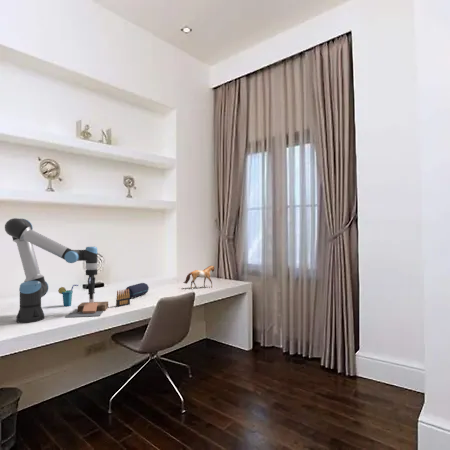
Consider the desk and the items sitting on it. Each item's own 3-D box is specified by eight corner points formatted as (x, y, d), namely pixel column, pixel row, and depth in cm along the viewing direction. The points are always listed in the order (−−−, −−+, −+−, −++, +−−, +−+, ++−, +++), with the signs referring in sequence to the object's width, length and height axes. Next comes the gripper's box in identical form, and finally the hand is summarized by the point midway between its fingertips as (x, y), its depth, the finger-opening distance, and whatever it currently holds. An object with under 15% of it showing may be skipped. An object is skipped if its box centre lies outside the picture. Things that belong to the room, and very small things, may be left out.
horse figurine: (214, 286, 331) (214, 265, 332) (217, 287, 324) (216, 266, 324) (183, 288, 321) (183, 266, 321) (185, 289, 314) (184, 267, 314)
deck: (77, 312, 231) (77, 306, 231) (82, 308, 242) (82, 302, 242) (105, 310, 233) (105, 305, 234) (108, 307, 245) (108, 301, 245)
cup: (76, 303, 259) (76, 283, 259) (80, 304, 253) (80, 284, 254) (56, 306, 249) (56, 285, 249) (60, 307, 244) (60, 287, 244)
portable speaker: (140, 293, 298) (140, 281, 298) (150, 293, 295) (149, 282, 295) (122, 298, 275) (122, 286, 275) (133, 299, 271) (132, 287, 271)
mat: (65, 317, 216) (65, 317, 216) (70, 313, 228) (70, 312, 228) (99, 316, 220) (99, 315, 220) (103, 311, 231) (103, 311, 231)
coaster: (82, 313, 225) (82, 311, 224) (85, 305, 232) (85, 302, 231) (95, 312, 227) (95, 310, 226) (97, 304, 233) (97, 302, 232)
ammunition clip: (128, 304, 255) (128, 288, 255) (130, 304, 253) (130, 288, 254) (115, 306, 246) (115, 290, 247) (117, 307, 245) (117, 290, 245)
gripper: (95, 270, 228) (95, 305, 227) (99, 267, 241) (99, 301, 240) (83, 270, 226) (83, 305, 226) (87, 268, 239) (87, 301, 239)
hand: (91, 303), depth 233 cm, fingers closed
